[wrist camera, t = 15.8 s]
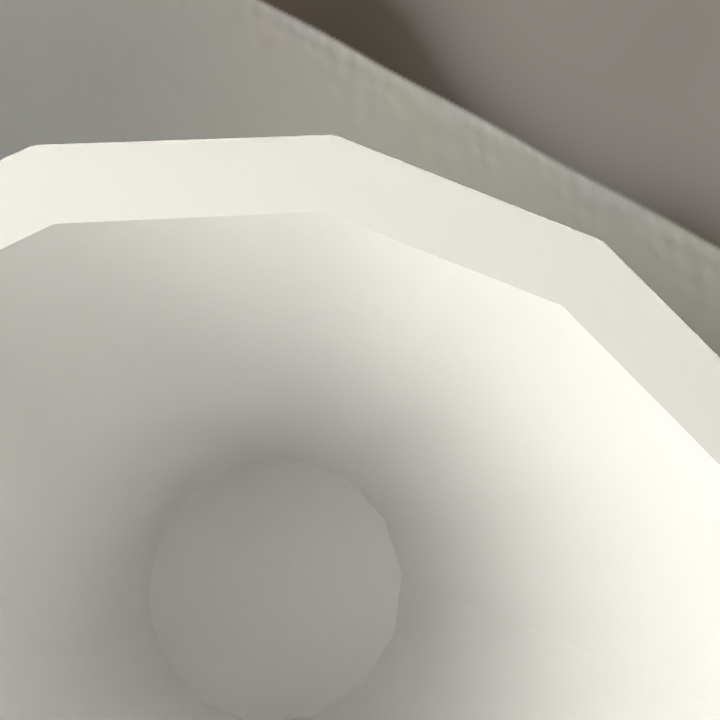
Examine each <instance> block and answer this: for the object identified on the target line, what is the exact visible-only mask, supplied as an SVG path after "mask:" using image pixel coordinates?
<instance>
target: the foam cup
mask: <svg viewBox="0 0 720 720" xmlns="http://www.w3.org/2000/svg"><path fill="white" fill-rule="evenodd" d="M0 720H720V357H719V356H718V355H717V354H716V353H715V352H714V351H713V350H712V349H711V348H710V347H709V346H708V345H707V344H706V343H705V342H704V341H703V340H702V339H701V338H700V337H699V336H698V335H697V334H696V333H695V332H694V331H693V330H692V329H691V328H690V327H689V326H688V325H687V324H686V323H685V322H684V321H683V320H682V319H681V318H680V317H679V316H678V315H676V314H675V313H674V312H673V311H672V310H671V309H670V308H669V307H668V306H667V305H666V304H665V303H664V302H663V301H662V300H661V299H660V298H659V297H658V296H657V295H656V294H655V293H654V292H653V291H652V290H651V289H650V288H649V287H648V286H647V285H646V284H645V283H644V282H643V281H642V280H641V279H640V278H639V277H638V276H637V275H636V274H635V273H634V272H633V271H632V270H631V269H630V268H629V267H628V266H627V265H626V264H625V263H624V262H623V261H622V260H621V259H620V258H619V257H618V256H617V255H616V254H615V253H614V252H613V251H612V250H611V249H610V248H609V247H608V246H607V245H606V244H605V243H604V242H603V241H602V240H600V239H597V238H595V237H592V236H590V235H587V234H584V233H582V232H579V231H577V230H574V229H572V228H569V227H567V226H564V225H562V224H559V223H557V222H554V221H552V220H549V219H546V218H544V217H541V216H539V215H536V214H534V213H531V212H529V211H526V210H524V209H521V208H519V207H516V206H514V205H511V204H508V203H506V202H503V201H501V200H498V199H496V198H493V197H491V196H488V195H486V194H483V193H481V192H478V191H476V190H473V189H471V188H468V187H465V186H463V185H460V184H458V183H455V182H453V181H450V180H448V179H445V178H443V177H440V176H438V175H435V174H433V173H430V172H427V171H425V170H422V169H420V168H417V167H415V166H412V165H410V164H407V163H405V162H402V161H400V160H397V159H395V158H392V157H389V156H387V155H384V154H382V153H379V152H377V151H374V150H372V149H369V148H367V147H364V146H362V145H359V144H357V143H354V142H351V141H349V140H346V139H344V138H341V137H339V136H336V135H312V136H283V137H254V138H224V139H195V140H166V141H137V142H108V143H79V144H49V145H32V146H30V147H28V148H26V149H23V150H21V151H19V152H17V153H15V154H13V155H10V156H8V157H6V158H4V159H2V160H0Z"/></svg>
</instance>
